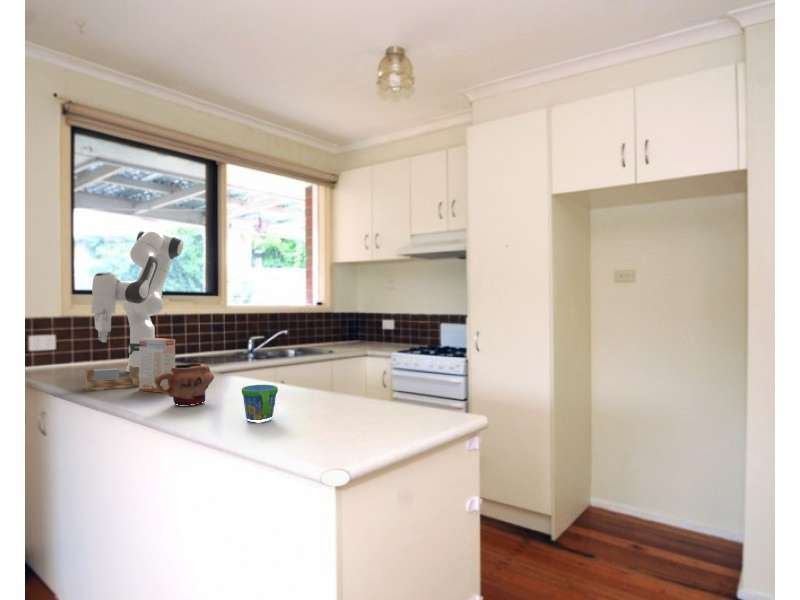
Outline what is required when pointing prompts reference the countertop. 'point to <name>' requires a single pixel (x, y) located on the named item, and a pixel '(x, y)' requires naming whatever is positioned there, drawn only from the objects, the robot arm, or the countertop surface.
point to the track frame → (111, 380)
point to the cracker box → (155, 362)
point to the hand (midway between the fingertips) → (102, 341)
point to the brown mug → (187, 383)
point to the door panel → (106, 374)
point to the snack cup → (259, 401)
